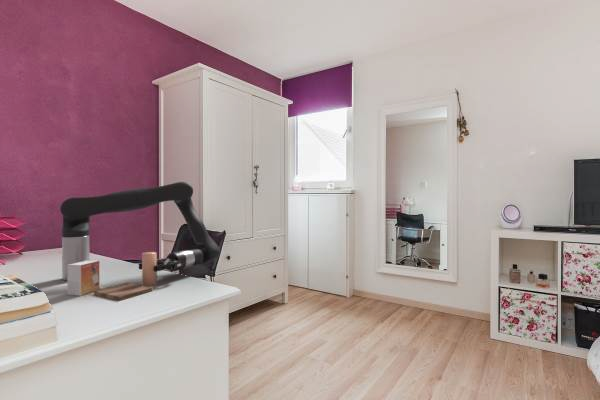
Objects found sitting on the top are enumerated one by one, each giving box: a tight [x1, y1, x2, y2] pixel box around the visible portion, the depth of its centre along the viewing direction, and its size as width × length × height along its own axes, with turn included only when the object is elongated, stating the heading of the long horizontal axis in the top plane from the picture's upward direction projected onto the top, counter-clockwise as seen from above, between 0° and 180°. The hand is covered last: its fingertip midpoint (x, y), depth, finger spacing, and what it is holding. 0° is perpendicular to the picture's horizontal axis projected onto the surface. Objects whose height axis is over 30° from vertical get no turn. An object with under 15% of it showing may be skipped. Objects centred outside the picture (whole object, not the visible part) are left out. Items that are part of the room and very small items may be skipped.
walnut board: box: [93, 282, 153, 302], centre depth 112 cm, size 14×12×1 cm
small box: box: [67, 260, 100, 297], centre depth 113 cm, size 8×6×10 cm
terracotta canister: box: [141, 251, 158, 287], centre depth 122 cm, size 5×5×12 cm
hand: (146, 267), depth 121 cm, fingers open, 8 cm apart
